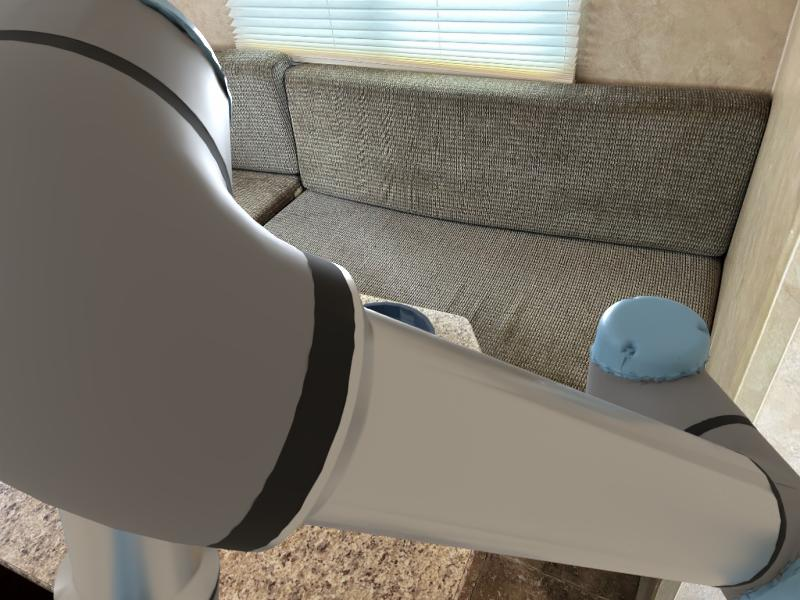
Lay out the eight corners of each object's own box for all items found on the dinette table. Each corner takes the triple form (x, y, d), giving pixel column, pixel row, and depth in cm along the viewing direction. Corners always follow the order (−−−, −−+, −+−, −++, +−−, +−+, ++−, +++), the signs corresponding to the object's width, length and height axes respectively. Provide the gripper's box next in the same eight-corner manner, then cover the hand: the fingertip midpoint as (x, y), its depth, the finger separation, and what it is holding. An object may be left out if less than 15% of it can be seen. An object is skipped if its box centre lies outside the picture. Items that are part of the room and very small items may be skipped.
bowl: (322, 412, 89) (316, 386, 85) (328, 331, 102) (323, 306, 99) (441, 402, 89) (440, 376, 85) (432, 322, 102) (430, 297, 99)
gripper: (483, 516, 53) (259, 438, 61) (528, 393, 63) (331, 341, 71) (484, 465, 48) (241, 387, 56) (533, 341, 58) (321, 291, 67)
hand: (292, 361), depth 64 cm, fingers closed on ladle, 2 cm apart
